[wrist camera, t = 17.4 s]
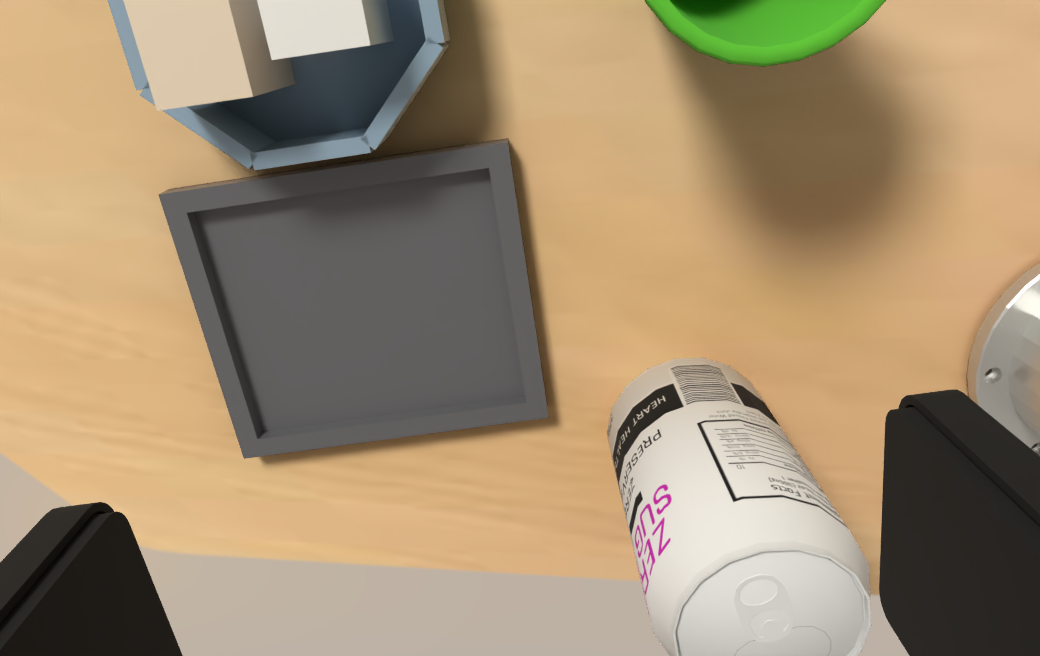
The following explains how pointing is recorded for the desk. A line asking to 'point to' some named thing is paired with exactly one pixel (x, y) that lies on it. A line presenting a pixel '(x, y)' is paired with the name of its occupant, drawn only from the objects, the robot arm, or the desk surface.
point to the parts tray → (364, 298)
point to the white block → (323, 25)
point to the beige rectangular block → (204, 51)
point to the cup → (762, 26)
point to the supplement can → (731, 522)
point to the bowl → (317, 94)
